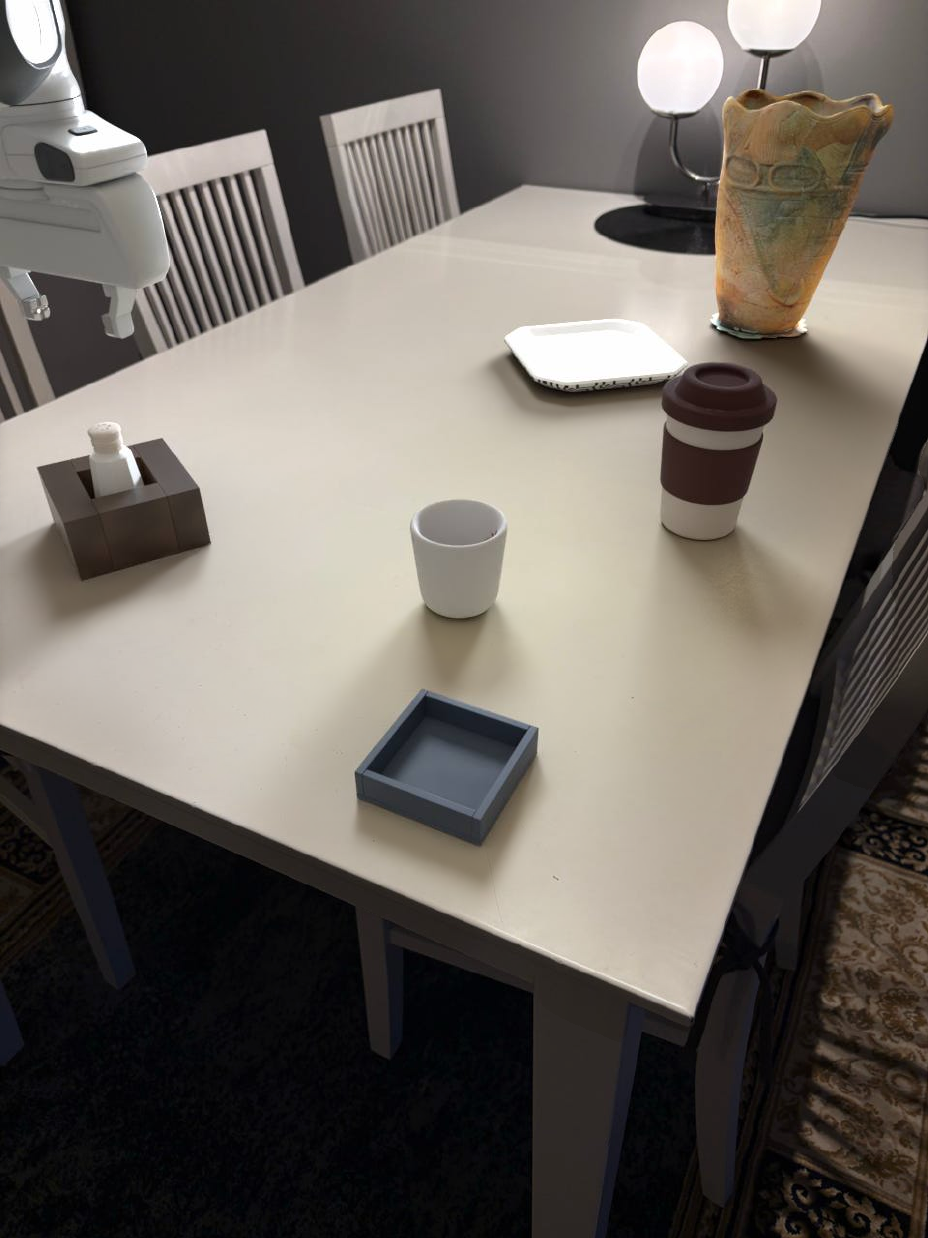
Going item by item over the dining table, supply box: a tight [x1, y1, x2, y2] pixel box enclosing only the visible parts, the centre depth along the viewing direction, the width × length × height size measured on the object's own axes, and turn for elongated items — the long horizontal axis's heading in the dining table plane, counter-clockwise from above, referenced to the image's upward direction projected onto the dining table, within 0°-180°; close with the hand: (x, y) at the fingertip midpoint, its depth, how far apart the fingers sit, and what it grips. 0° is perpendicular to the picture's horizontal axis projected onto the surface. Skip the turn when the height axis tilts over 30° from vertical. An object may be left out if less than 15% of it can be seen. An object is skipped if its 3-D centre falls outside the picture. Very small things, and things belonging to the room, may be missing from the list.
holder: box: [36, 437, 212, 581], centre depth 86 cm, size 12×12×6 cm
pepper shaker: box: [87, 421, 144, 498], centre depth 85 cm, size 5×5×11 cm
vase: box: [709, 88, 895, 339], centre depth 124 cm, size 21×20×30 cm
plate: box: [503, 318, 688, 393], centre depth 121 cm, size 21×21×2 cm
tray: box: [354, 688, 540, 847], centre depth 62 cm, size 9×9×2 cm
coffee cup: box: [659, 361, 778, 541], centre depth 84 cm, size 10×10×15 cm
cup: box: [409, 498, 509, 619], centre depth 77 cm, size 11×8×8 cm
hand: (78, 326), depth 76 cm, fingers open, 8 cm apart
